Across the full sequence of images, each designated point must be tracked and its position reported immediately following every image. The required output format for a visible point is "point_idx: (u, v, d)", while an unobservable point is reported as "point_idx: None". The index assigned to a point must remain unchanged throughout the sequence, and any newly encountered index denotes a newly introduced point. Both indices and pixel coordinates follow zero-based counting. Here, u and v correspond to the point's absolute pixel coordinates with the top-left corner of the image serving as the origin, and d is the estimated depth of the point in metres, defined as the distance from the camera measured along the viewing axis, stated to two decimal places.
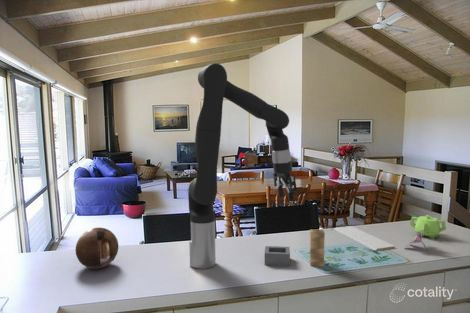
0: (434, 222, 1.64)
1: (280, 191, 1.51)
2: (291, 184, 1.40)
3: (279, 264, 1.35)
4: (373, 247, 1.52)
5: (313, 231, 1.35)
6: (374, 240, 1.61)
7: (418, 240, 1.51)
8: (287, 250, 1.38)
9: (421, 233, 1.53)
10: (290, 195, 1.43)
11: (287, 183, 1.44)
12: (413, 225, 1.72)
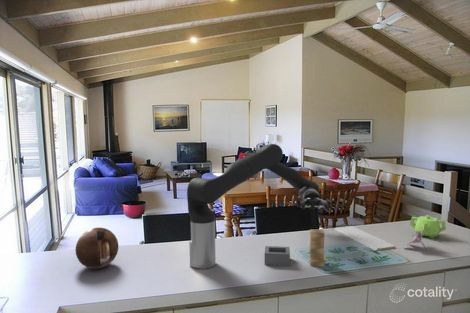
0: (434, 222, 1.64)
1: (304, 204, 1.49)
2: (329, 201, 1.52)
3: (279, 264, 1.35)
4: (373, 247, 1.52)
5: (313, 231, 1.35)
6: (374, 240, 1.61)
7: (418, 240, 1.51)
8: (287, 250, 1.38)
9: (420, 233, 1.53)
10: (326, 204, 1.48)
11: (319, 202, 1.52)
12: (413, 225, 1.72)
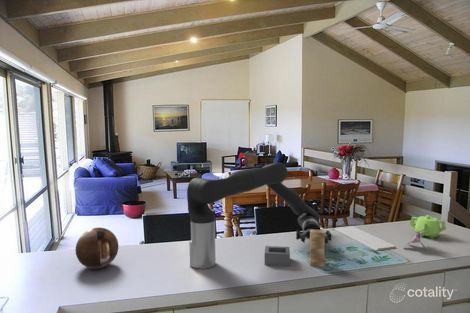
0: (434, 222, 1.64)
1: None
2: None
3: (279, 264, 1.35)
4: (374, 247, 1.52)
5: (313, 231, 1.35)
6: (375, 240, 1.61)
7: (417, 240, 1.51)
8: (287, 250, 1.38)
9: (420, 233, 1.53)
10: (326, 237, 1.45)
11: None
12: (413, 225, 1.72)
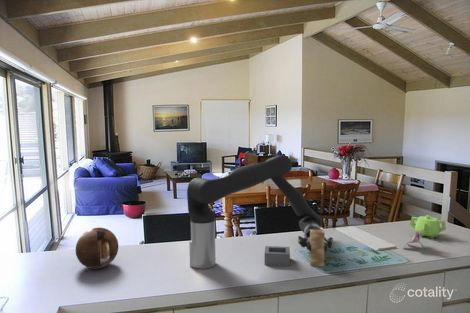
0: (434, 222, 1.64)
1: (310, 245, 1.36)
2: (332, 240, 1.40)
3: (279, 264, 1.35)
4: (375, 247, 1.52)
5: (313, 231, 1.35)
6: (376, 240, 1.61)
7: (416, 240, 1.51)
8: (287, 250, 1.38)
9: (419, 233, 1.53)
10: (326, 245, 1.35)
11: None
12: (413, 225, 1.72)
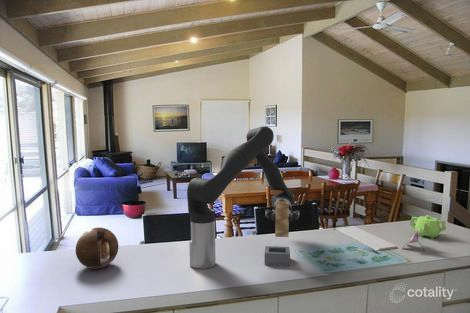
0: (434, 222, 1.64)
1: None
2: (298, 213, 1.40)
3: (279, 264, 1.35)
4: (375, 247, 1.52)
5: (278, 202, 1.36)
6: (376, 240, 1.61)
7: (415, 240, 1.51)
8: (287, 250, 1.38)
9: (418, 233, 1.53)
10: (291, 216, 1.36)
11: None
12: (413, 225, 1.72)
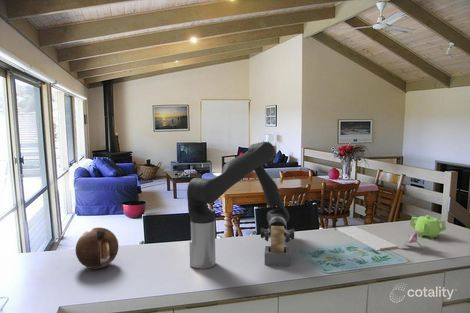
0: (434, 222, 1.64)
1: (268, 236, 1.39)
2: None
3: (279, 264, 1.35)
4: (376, 247, 1.52)
5: (273, 227, 1.38)
6: (377, 240, 1.61)
7: (414, 240, 1.51)
8: (287, 250, 1.38)
9: None
10: (288, 235, 1.38)
11: None
12: (413, 225, 1.72)
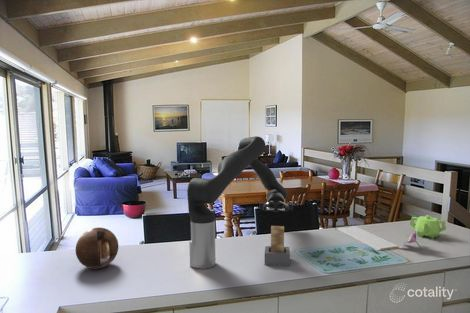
0: (434, 222, 1.64)
1: (266, 207, 1.53)
2: None
3: (279, 264, 1.35)
4: (376, 247, 1.52)
5: (273, 227, 1.38)
6: (378, 240, 1.61)
7: (413, 240, 1.51)
8: (287, 250, 1.38)
9: None
10: (287, 207, 1.51)
11: None
12: (413, 225, 1.72)
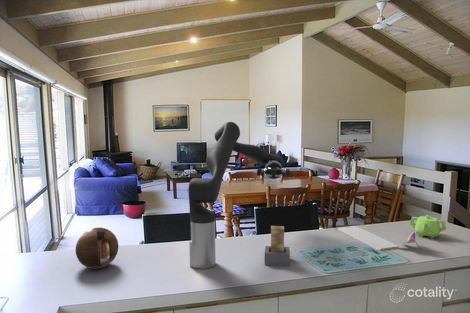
0: (434, 222, 1.64)
1: None
2: None
3: (279, 264, 1.35)
4: (377, 247, 1.52)
5: (273, 227, 1.38)
6: (378, 240, 1.61)
7: (412, 240, 1.51)
8: (287, 250, 1.38)
9: (414, 233, 1.54)
10: (284, 172, 1.52)
11: (279, 172, 1.57)
12: (413, 225, 1.72)
